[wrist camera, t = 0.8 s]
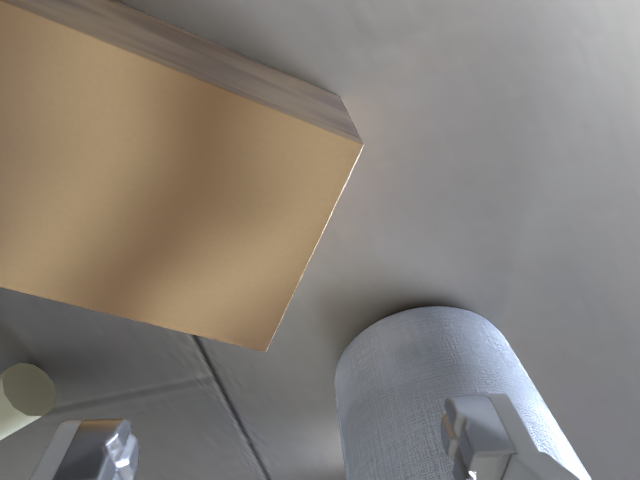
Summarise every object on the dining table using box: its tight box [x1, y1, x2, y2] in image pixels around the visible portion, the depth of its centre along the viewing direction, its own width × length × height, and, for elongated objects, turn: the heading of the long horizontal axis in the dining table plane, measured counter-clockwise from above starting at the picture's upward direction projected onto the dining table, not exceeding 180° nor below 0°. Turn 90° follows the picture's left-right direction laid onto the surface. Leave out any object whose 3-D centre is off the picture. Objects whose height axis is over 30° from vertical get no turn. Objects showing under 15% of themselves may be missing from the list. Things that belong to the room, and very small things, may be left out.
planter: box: [335, 306, 592, 480], centre depth 32 cm, size 16×16×16 cm
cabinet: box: [0, 0, 364, 352], centre depth 23 cm, size 15×13×10 cm
